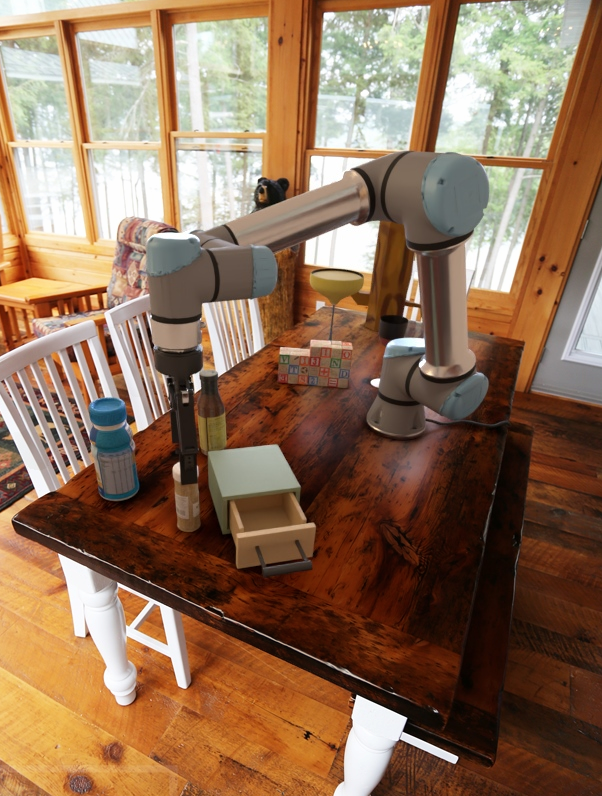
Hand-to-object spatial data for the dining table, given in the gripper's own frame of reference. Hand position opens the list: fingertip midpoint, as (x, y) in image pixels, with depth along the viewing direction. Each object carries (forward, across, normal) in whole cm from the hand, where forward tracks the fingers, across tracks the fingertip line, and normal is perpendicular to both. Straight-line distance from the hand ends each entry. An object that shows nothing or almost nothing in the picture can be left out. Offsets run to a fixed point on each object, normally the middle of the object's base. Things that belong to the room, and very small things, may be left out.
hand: (184, 461), depth 89 cm
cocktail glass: (+14, +89, -63) cm, 110 cm away
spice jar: (+15, 0, 0) cm, 15 cm away
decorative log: (+14, +108, -92) cm, 142 cm away
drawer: (+14, -10, -13) cm, 22 cm away
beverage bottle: (+15, +14, +12) cm, 24 cm away
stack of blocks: (+14, +60, -46) cm, 77 cm away
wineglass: (+14, +55, -68) cm, 88 cm away
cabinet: (+14, +4, -14) cm, 20 cm away
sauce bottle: (+15, +26, -10) cm, 31 cm away
